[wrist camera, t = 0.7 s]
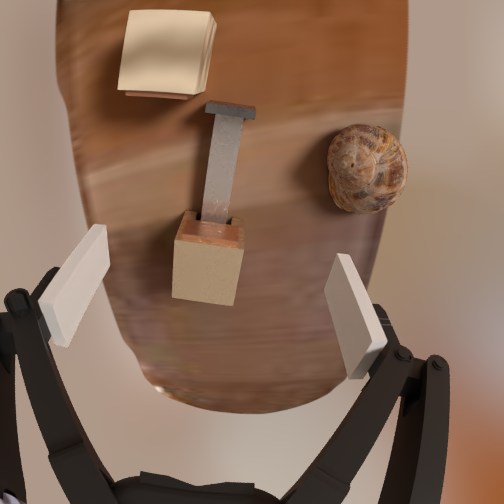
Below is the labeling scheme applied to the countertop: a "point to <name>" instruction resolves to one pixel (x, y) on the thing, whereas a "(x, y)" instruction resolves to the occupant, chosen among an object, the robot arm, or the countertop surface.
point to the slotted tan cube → (166, 53)
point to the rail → (213, 219)
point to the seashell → (366, 169)
